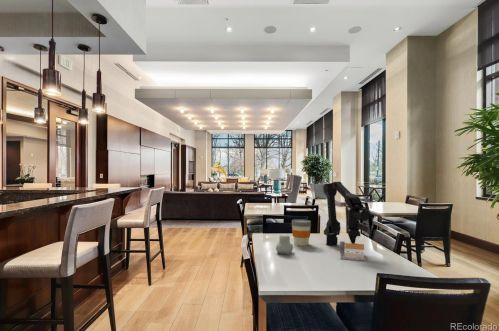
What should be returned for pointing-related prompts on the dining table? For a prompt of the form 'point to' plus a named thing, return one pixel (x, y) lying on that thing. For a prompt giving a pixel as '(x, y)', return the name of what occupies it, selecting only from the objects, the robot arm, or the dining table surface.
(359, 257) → the chassis board
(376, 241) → the dining table surface
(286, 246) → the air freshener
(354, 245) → the cable arm
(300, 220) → the reusable coffee cup
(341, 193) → the robot arm
